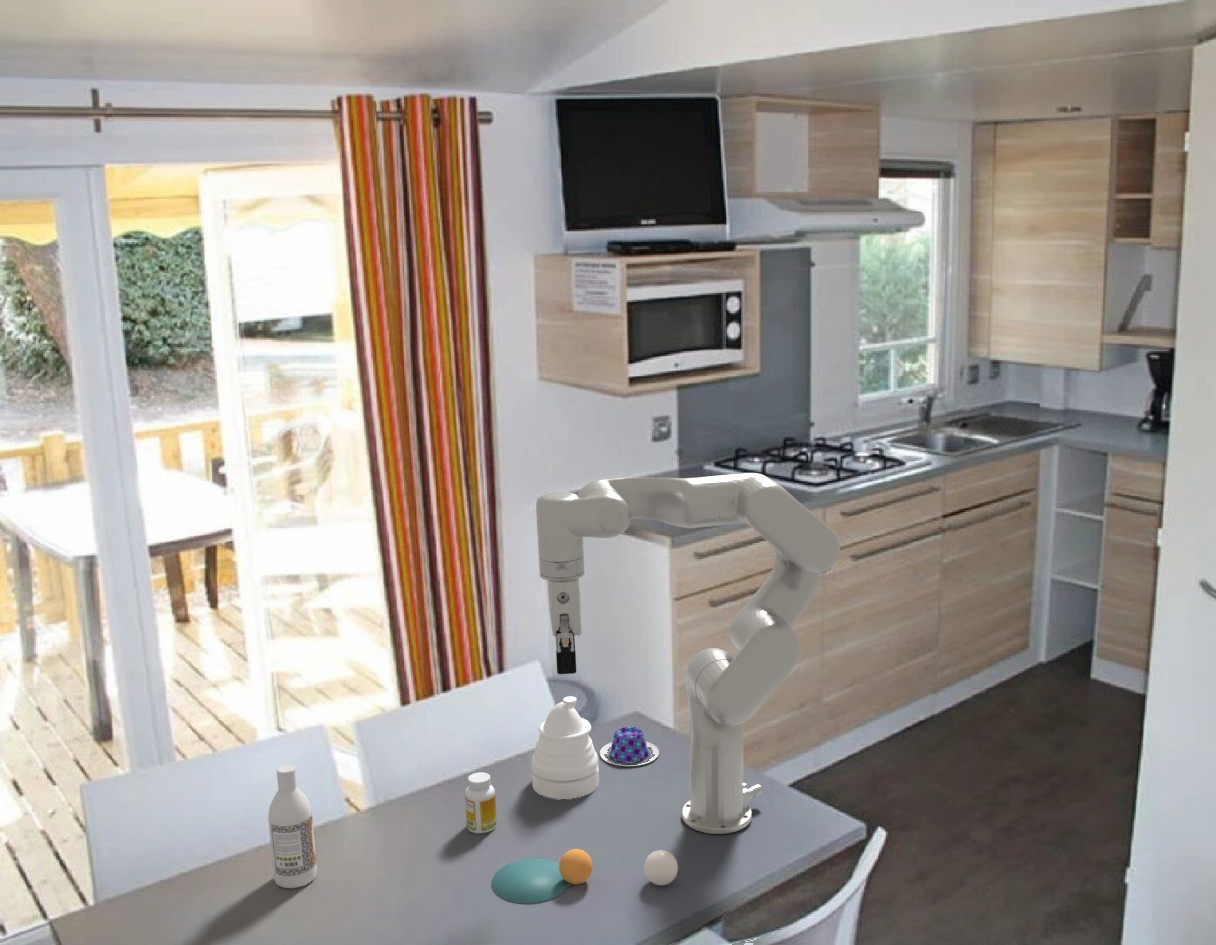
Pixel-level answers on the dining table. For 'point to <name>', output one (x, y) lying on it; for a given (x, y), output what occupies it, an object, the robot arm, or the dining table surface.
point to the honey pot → (564, 755)
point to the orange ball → (575, 866)
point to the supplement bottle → (480, 804)
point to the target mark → (529, 881)
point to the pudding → (629, 746)
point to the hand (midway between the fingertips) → (566, 662)
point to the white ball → (661, 867)
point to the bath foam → (291, 833)
